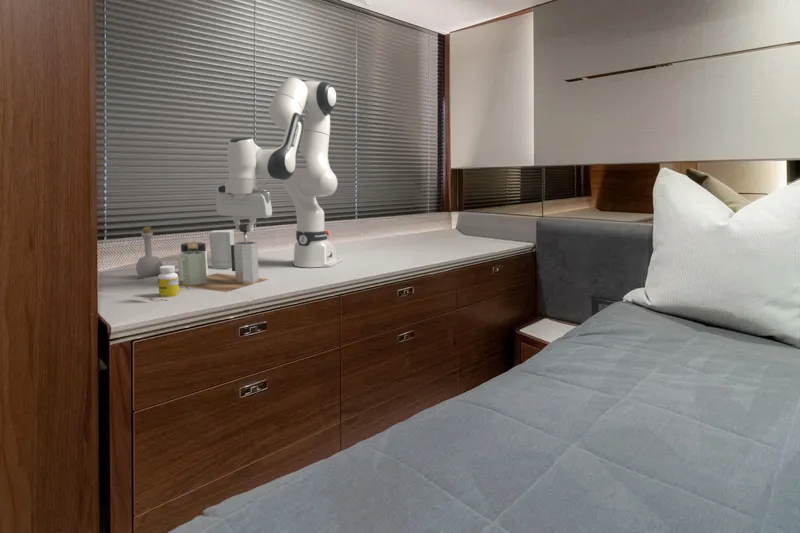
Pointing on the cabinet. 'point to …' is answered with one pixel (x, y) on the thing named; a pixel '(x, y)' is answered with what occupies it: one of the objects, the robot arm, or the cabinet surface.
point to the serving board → (220, 283)
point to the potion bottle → (148, 258)
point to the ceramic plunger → (192, 246)
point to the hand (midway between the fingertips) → (244, 230)
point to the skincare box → (221, 248)
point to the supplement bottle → (168, 282)
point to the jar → (200, 248)
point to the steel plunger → (244, 231)
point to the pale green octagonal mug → (192, 268)
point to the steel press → (245, 262)
